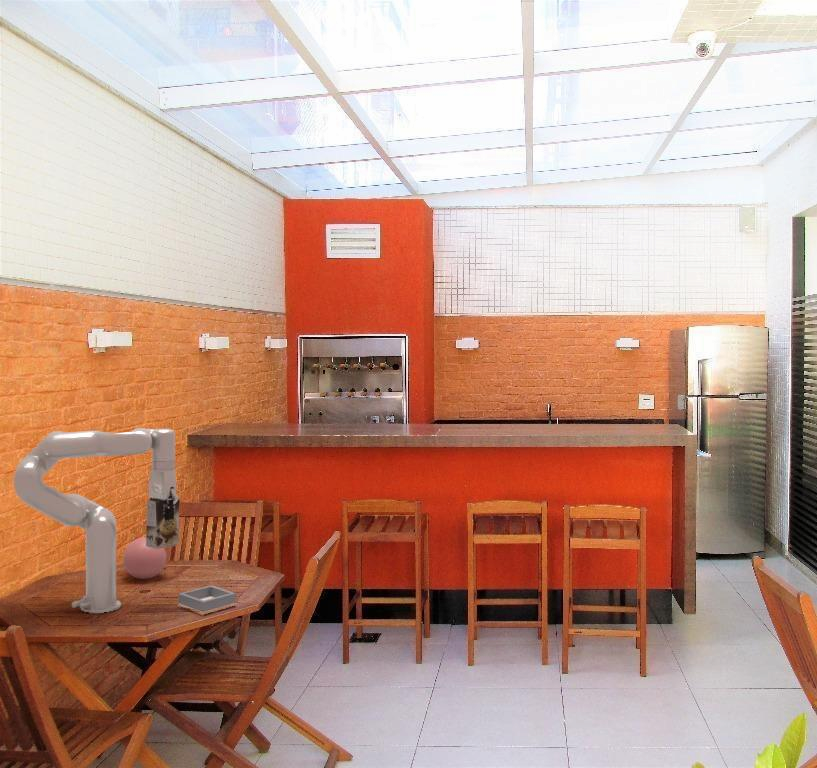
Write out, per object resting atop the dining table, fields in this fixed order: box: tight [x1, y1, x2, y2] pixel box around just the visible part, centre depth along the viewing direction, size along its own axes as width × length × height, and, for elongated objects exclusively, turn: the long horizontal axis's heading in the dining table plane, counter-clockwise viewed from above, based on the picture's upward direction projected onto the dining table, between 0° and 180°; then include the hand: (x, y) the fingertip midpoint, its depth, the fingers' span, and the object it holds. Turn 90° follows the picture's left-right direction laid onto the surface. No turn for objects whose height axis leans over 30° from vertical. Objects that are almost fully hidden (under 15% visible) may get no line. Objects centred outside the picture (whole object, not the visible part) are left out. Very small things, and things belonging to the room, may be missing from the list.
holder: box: [178, 584, 237, 612], centre depth 289 cm, size 13×13×4 cm
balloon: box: [122, 536, 167, 580], centre depth 322 cm, size 15×20×15 cm
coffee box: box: [145, 498, 180, 549], centre depth 290 cm, size 9×6×16 cm
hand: (162, 517), depth 290 cm, fingers closed on coffee box, 6 cm apart
